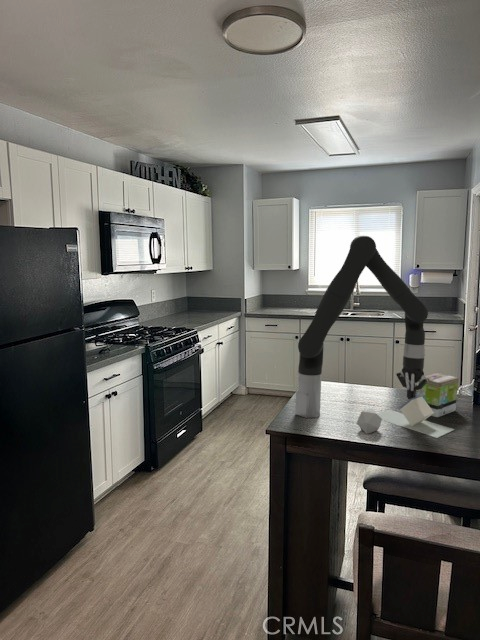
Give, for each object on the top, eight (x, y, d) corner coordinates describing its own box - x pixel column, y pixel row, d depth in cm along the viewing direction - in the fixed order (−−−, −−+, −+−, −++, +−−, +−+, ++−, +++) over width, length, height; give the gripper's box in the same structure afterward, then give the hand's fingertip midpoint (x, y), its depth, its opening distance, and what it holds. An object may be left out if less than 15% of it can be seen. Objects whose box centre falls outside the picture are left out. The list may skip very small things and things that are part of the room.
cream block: (398, 408, 179) (411, 426, 175) (411, 398, 174) (424, 416, 171) (408, 404, 183) (421, 422, 179) (420, 395, 179) (434, 412, 175)
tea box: (438, 418, 184) (441, 382, 182) (415, 412, 192) (417, 377, 190) (456, 411, 194) (459, 376, 192) (433, 404, 202) (435, 371, 200)
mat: (436, 438, 164) (436, 437, 164) (369, 416, 186) (369, 415, 186) (454, 430, 172) (454, 429, 172) (388, 410, 194) (388, 409, 194)
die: (368, 426, 176) (354, 407, 175) (388, 421, 171) (374, 401, 170) (364, 441, 170) (349, 421, 169) (384, 435, 165) (369, 415, 163)
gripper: (392, 353, 179) (390, 397, 181) (424, 359, 169) (421, 405, 171) (403, 351, 183) (400, 393, 186) (435, 357, 173) (432, 401, 176)
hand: (411, 399), depth 178 cm, fingers closed
